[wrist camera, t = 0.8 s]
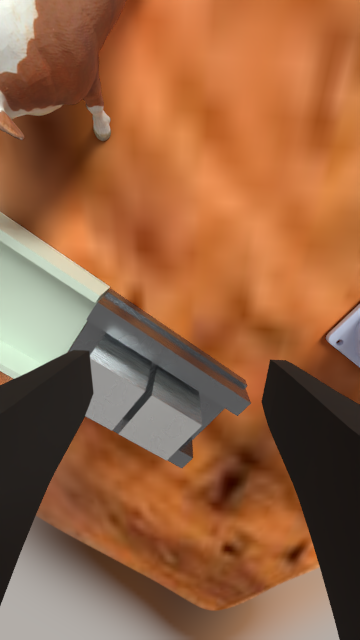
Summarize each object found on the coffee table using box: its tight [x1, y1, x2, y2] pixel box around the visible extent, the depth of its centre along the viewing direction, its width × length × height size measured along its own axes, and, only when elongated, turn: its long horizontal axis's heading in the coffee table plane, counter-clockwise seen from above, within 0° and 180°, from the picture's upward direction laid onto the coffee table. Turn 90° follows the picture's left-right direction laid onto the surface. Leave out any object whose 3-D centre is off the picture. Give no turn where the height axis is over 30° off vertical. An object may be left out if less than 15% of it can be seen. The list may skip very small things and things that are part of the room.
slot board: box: [69, 289, 251, 468], centre depth 19 cm, size 13×9×3 cm
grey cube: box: [119, 365, 202, 460], centre depth 18 cm, size 4×4×4 cm
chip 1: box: [85, 333, 152, 430], centre depth 17 cm, size 4×4×4 cm
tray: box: [0, 212, 110, 379], centre depth 17 cm, size 11×9×2 cm
